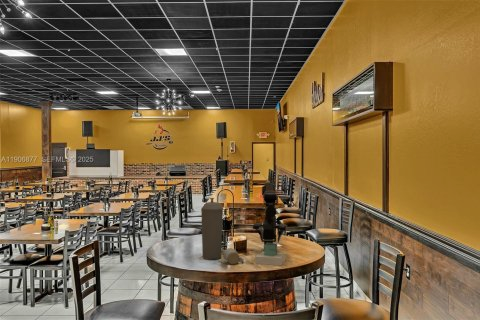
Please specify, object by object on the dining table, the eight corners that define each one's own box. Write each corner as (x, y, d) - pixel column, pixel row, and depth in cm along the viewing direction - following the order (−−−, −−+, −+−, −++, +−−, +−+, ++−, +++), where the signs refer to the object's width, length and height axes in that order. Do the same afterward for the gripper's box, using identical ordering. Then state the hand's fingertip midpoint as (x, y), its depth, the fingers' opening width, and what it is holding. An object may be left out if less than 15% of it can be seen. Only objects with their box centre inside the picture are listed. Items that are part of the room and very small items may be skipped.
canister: (198, 260, 245) (198, 198, 245) (203, 255, 258) (203, 196, 258) (220, 260, 244) (220, 199, 244) (224, 255, 256) (224, 197, 256)
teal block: (266, 253, 245) (266, 242, 245) (277, 253, 243) (277, 243, 243) (264, 255, 239) (264, 244, 239) (274, 256, 237) (274, 245, 237)
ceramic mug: (227, 265, 233) (227, 251, 233) (223, 262, 241) (223, 248, 241) (245, 264, 236) (246, 250, 236) (241, 261, 244) (241, 247, 244)
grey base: (262, 258, 250) (262, 251, 250) (285, 259, 245) (285, 252, 245) (255, 263, 236) (255, 256, 236) (280, 265, 232) (280, 258, 232)
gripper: (250, 215, 237) (250, 243, 237) (283, 216, 231) (283, 245, 231) (255, 213, 248) (255, 240, 248) (287, 214, 242) (287, 242, 242)
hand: (270, 242), depth 242 cm, fingers open, 9 cm apart
